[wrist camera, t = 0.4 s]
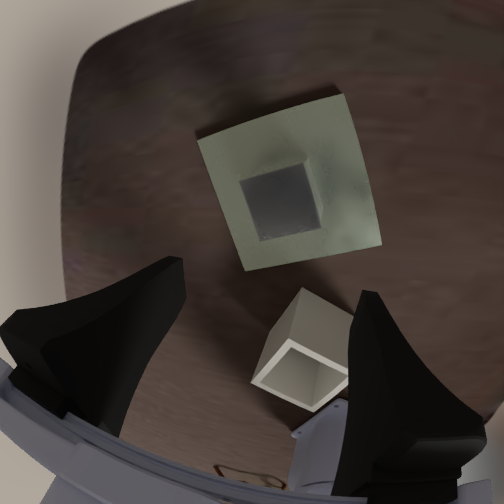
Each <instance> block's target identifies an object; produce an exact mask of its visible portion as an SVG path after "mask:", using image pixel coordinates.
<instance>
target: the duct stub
mask: <svg viewBox="0 0 504 504" xmlns="http://www.w3.org/2000/svg"><path fill="white" fill-rule="evenodd" d="M197 142H198V145H199V147H200V150H201V153H202V156H203V158H204V161H205V164H206V167H207V170H208V172H209V175H210V178H211V181H212V183H213V186H214V189H215V191H216V194H217V197H218V200H219V202H220V205H221V208H222V211H223V213H224V216H225V219H226V221H227V224H228V227H229V230H230V232H231V235H232V238H233V240H234V243H235V246H236V248H237V251H238V254H239V256H240V259H241V262H242V264H243V267H244V270H245V271H250V270H255V269H261V268H266V267H271V266H277V265H282V264H287V263H293V262H298V261H303V260H308V259H313V258H319V257H324V256H329V255H334V254H339V253H344V252H349V251H354V250H359V249H364V248H369V247H374V246H379V245H382V242H381V237H380V231H379V226H378V221H377V216H376V211H375V206H374V202H373V197H372V193H371V188H370V184H369V180H368V176H367V172H366V168H365V164H364V160H363V156H362V152H361V149H360V145H359V142H358V138H357V135H356V131H355V128H354V125H353V121H352V118H351V115H350V112H349V109H348V106H347V103H346V100H345V97H344V94H339V95H335V96H331V97H327V98H323V99H319V100H316V101H312V102H309V103H305V104H301V105H298V106H295V107H291V108H288V109H285V110H281V111H278V112H275V113H272V114H269V115H266V116H263V117H260V118H257V119H254V120H251V121H248V122H245V123H242V124H239V125H237V126H234V127H231V128H228V129H226V130H223V131H220V132H218V133H215V134H213V135H210V136H207V137H205V138H202V139H200V140H198V141H197Z"/></svg>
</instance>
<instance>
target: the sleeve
mask: <svg viewBox="0 0 504 504" xmlns="http://www.w3.org/2000/svg"><path fill="white" fill-rule="evenodd" d="M353 318H354V316H352V315H350V314H349V313H347V312H345V311H343V310H342V309H340V308H338V307H336V306H335V305H333V304H331V303H329V302H327V301H326V300H324V299H322V298H320V297H319V296H317V295H315V294H313V293H312V292H310V291H308V290H306V289H305V288H303V287H302V288H301V289H300V291H299V292H298V293H297V295H296V296H295V298H294V299H293V300H292V302H291V303H290V304H289V306H288V307H287V309H286V310H285V311H284V313H283V314H282V316H281V317H280V318H279V320H278V321H277V322H276V324H275V325H274V326H273V328H272V329H271V330H270V332H269V335H268V337H267V340H266V343H265V346H264V348H263V351H262V354H261V356H260V359H259V362H258V364H257V367H256V370H255V372H254V375H253V377H252V380H251V383H252V384H254V385H256V386H258V387H260V388H262V389H264V390H266V391H268V392H270V393H272V394H274V395H276V396H278V397H281V398H283V399H285V400H287V401H289V402H291V403H293V404H296V405H298V406H300V407H302V408H305V409H307V410H309V411H311V412H315V411H316V410H318V409H319V408H320V407H321V406H323V405H324V404H325V403H326V402H328V401H329V400H330V399H331V398H333V397H334V396H335V395H336V394H338V393H339V392H340V391H341V390H342V389H344V388H345V387H346V386H347V385H348V341H349V331H350V326H351V324H352V321H353Z"/></svg>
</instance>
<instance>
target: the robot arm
mask: <svg viewBox="0 0 504 504" xmlns="http://www.w3.org/2000/svg"><path fill="white" fill-rule="evenodd" d="M185 299H186V291H185V281H184V271H183V260H182V258H178V257H173V256H168V257H165V258H163V259H161V260H159V261H157V262H155V263H153V264H151V265H150V266H148V267H146V268H144V269H142V270H140V271H138V272H136V273H135V274H133V275H131V276H129V277H127V278H125V279H123V280H121V281H119V282H116V283H114V284H112V285H110V286H108V287H106V288H104V289H101V290H99V291H96V292H94V293H91V294H88V295H85V296H82V297H79V298H76V299H73V300H69V301H66V302H62V303H58V304H54V305H49V306H44V307H37V308H29V309H20V310H16V311H15V312H14V313H13V314H12V315H11V316H10V317H9V318H8V319H7V320H6V321H5V322H4V323H3V324H2V325H1V326H0V337H1V339H2V341H3V343H4V344H5V346H6V348H7V350H8V351H9V353H10V354H11V356H12V358H13V359H14V360H15V362H16V364H17V366H16V368H15V369H13V368H12V367H11V366H10V365H9V364H8V363H6V362H5V361H4V360H3V359H1V358H0V430H1V431H2V432H3V433H4V434H5V435H7V436H8V437H9V438H10V439H11V440H12V441H13V442H14V443H15V444H17V445H18V446H19V447H20V448H21V449H23V450H24V451H25V452H26V453H28V454H29V455H30V456H31V457H32V458H34V459H35V460H36V461H38V462H39V463H40V464H41V465H43V466H44V467H46V468H47V469H48V470H50V471H51V472H52V473H54V474H55V475H56V477H55V479H54V481H53V482H52V484H51V486H50V488H49V489H48V491H47V493H46V494H45V496H44V498H43V499H42V501H41V503H40V504H226V503H223V502H220V501H219V500H223V501H227V502H231V503H235V504H492V491H491V480H490V479H487V480H481V481H476V482H471V483H466V484H463V485H460V486H457V479H459V478H460V477H461V475H462V472H461V467H462V466H463V465H465V464H466V463H467V462H469V461H470V460H472V459H473V458H474V457H475V456H477V455H478V454H479V453H480V452H481V451H482V450H483V449H484V447H485V446H486V443H487V438H486V432H485V427H484V422H483V418H482V416H480V415H479V414H478V413H476V412H475V411H474V410H472V409H471V408H470V407H468V406H467V405H466V404H464V403H463V402H462V401H461V400H459V399H458V398H457V397H456V396H455V395H454V394H453V393H451V392H450V391H449V390H448V389H447V388H446V387H445V386H444V385H443V384H442V383H441V382H440V381H439V380H438V379H437V378H436V377H435V376H434V375H433V374H432V372H431V371H430V370H429V369H428V368H427V367H426V366H425V364H424V363H423V362H422V361H421V359H420V358H419V357H418V356H417V354H416V353H415V352H414V350H413V349H412V348H411V346H410V345H409V343H408V342H407V340H406V339H405V337H404V336H403V334H402V333H401V331H400V330H399V328H398V326H397V325H396V323H395V322H394V320H393V318H392V316H391V315H390V313H389V311H388V310H387V308H386V306H385V304H384V303H383V301H382V299H381V297H380V296H379V294H378V292H372V291H366V290H362V293H361V296H360V299H359V302H358V305H357V309H356V312H355V315H354V318H353V321H352V324H351V326H350V331H349V341H348V401H346V400H344V399H341V398H338V399H336V400H335V401H333V402H332V403H331V404H330V405H328V406H327V407H326V408H324V409H323V410H322V411H320V412H319V413H318V414H316V415H315V416H314V417H312V418H311V419H310V420H308V421H307V422H306V423H304V424H303V425H301V426H300V427H299V428H297V429H296V430H294V431H293V432H292V433H291V436H292V437H294V438H297V442H296V447H295V451H294V455H293V459H292V463H291V467H290V471H289V475H288V486H289V489H290V491H287V490H280V489H275V488H269V487H264V486H259V485H254V484H250V483H245V482H241V481H237V480H233V479H229V478H225V477H221V476H218V475H214V474H211V473H207V472H204V471H201V470H198V469H194V468H191V467H188V466H185V465H182V464H180V463H177V462H174V461H171V460H168V459H166V458H163V457H161V456H158V455H155V454H153V453H150V452H148V451H146V450H143V449H141V448H139V447H136V446H134V445H132V444H130V443H127V442H125V441H123V440H121V439H119V435H120V431H121V428H122V425H123V422H124V419H125V416H126V413H127V410H128V408H129V405H130V402H131V400H132V397H133V395H134V392H135V390H136V388H137V385H138V383H139V381H140V379H141V377H142V374H143V372H144V370H145V368H146V366H147V364H148V362H149V360H150V359H151V357H152V355H153V354H154V352H155V350H156V349H157V347H158V346H159V344H160V343H161V341H162V340H163V338H164V337H165V335H166V334H167V332H168V331H169V329H170V327H171V326H172V324H173V323H174V321H175V320H176V318H177V316H178V314H179V312H180V310H181V308H182V306H183V303H184V301H185ZM217 499H219V500H217Z"/></svg>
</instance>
